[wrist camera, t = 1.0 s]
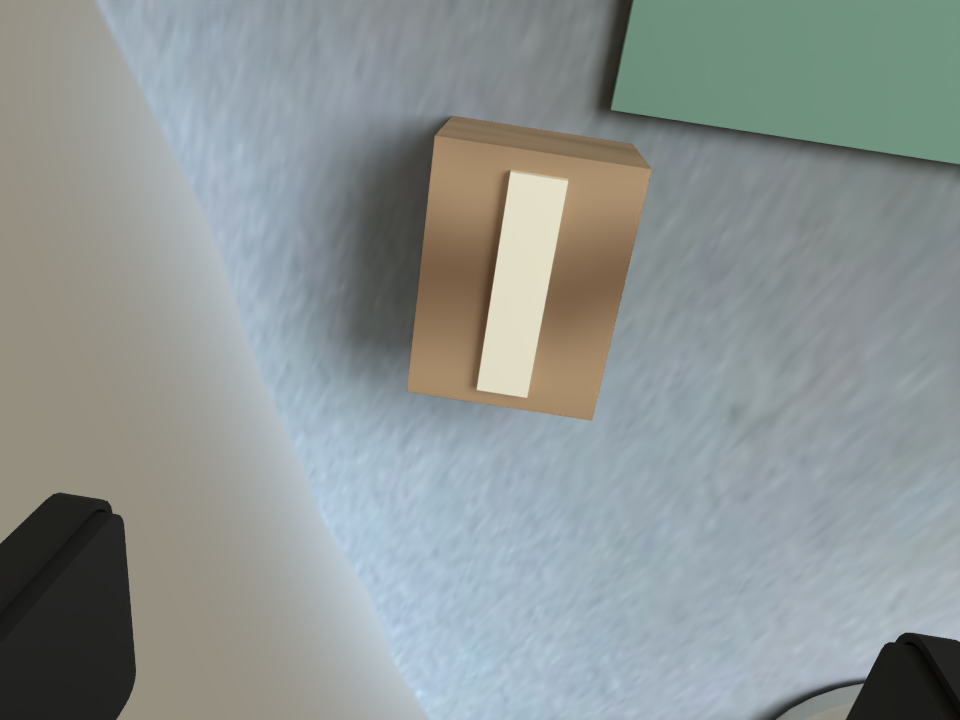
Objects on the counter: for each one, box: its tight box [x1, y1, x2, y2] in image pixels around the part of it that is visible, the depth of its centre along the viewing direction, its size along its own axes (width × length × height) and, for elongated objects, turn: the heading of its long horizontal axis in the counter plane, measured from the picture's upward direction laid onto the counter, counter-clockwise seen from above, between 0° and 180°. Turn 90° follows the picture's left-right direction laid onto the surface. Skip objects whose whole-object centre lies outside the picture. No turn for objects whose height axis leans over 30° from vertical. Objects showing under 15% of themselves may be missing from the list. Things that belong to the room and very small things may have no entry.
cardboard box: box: [407, 116, 652, 421], centre depth 24 cm, size 8×6×5 cm
